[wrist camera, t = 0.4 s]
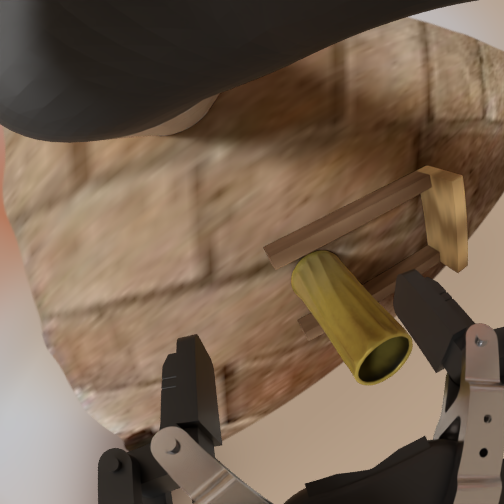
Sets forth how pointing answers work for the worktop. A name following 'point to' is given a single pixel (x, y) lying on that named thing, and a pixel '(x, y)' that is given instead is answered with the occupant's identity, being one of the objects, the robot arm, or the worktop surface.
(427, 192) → the track
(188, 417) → the robot arm
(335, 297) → the vase
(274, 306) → the worktop surface
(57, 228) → the worktop surface
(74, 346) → the worktop surface
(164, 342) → the worktop surface
